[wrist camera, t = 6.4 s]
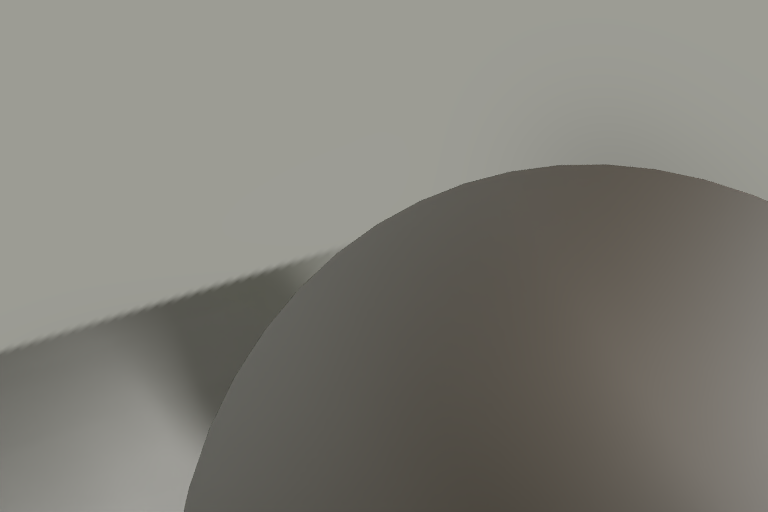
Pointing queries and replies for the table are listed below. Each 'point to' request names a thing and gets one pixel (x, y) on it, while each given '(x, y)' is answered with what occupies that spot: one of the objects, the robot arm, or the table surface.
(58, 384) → the table surface
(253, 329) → the table surface
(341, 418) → the wooden dome-topped cylinder
